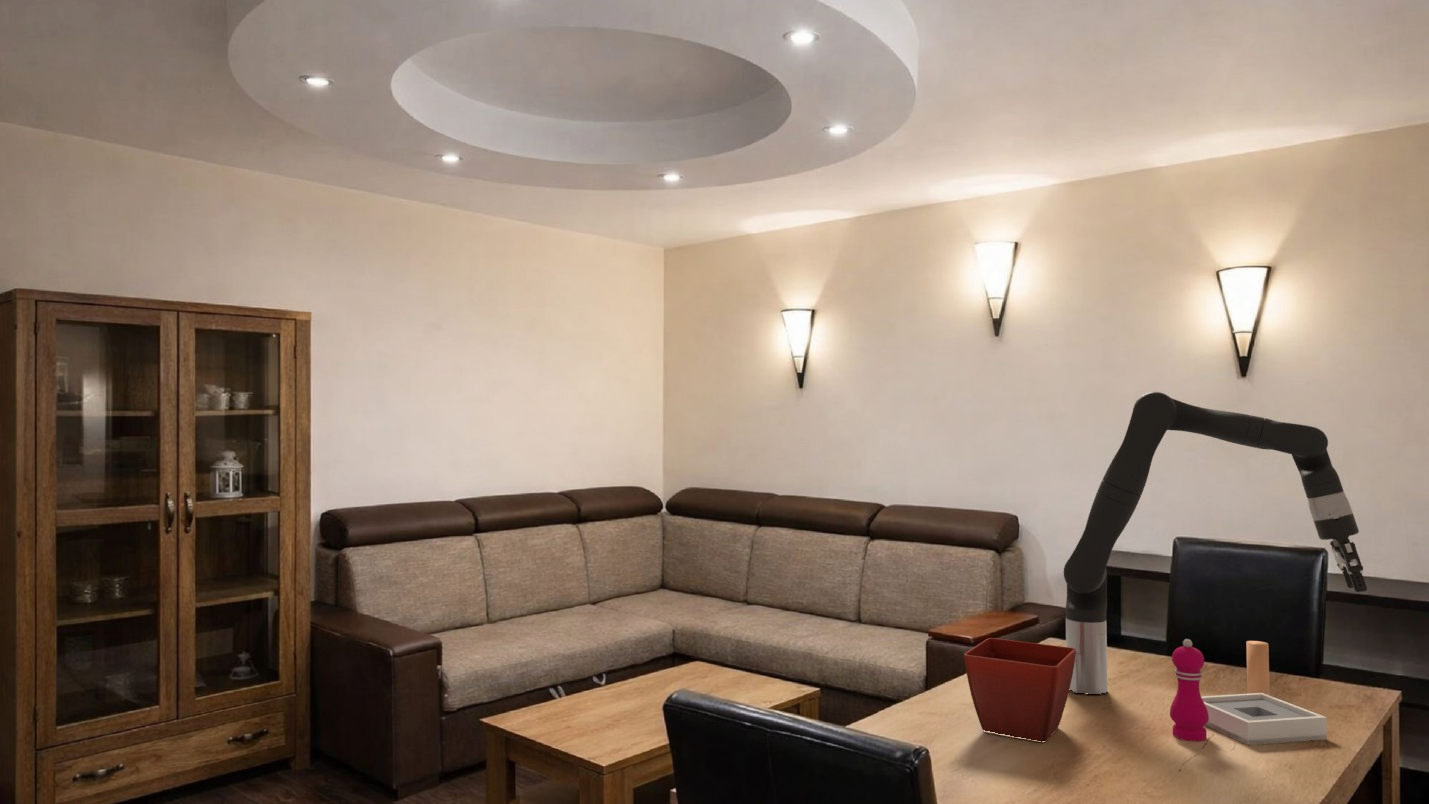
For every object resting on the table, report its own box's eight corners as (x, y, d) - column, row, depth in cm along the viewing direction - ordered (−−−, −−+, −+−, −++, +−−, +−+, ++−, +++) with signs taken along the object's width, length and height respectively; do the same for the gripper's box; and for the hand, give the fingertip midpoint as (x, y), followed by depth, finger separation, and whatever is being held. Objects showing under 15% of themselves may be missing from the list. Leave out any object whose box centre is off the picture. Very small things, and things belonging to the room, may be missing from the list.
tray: (1248, 745, 190) (1247, 722, 190) (1189, 717, 208) (1188, 697, 208) (1327, 739, 193) (1326, 717, 193) (1262, 713, 211) (1261, 692, 211)
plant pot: (1078, 725, 203) (1077, 647, 204) (1058, 752, 187) (1056, 666, 188) (989, 712, 214) (988, 636, 214) (963, 735, 198) (962, 654, 198)
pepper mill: (1206, 732, 198) (1204, 636, 199) (1212, 743, 191) (1209, 644, 192) (1168, 729, 201) (1166, 634, 201) (1172, 740, 194) (1170, 641, 194)
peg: (1257, 707, 215) (1255, 645, 215) (1243, 702, 219) (1241, 641, 220) (1274, 706, 216) (1272, 644, 216) (1260, 701, 220) (1258, 640, 220)
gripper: (1308, 518, 215) (1332, 589, 212) (1318, 520, 202) (1343, 596, 199) (1346, 510, 212) (1370, 582, 209) (1358, 512, 199) (1385, 589, 196)
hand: (1357, 589), depth 204 cm, fingers open, 8 cm apart
